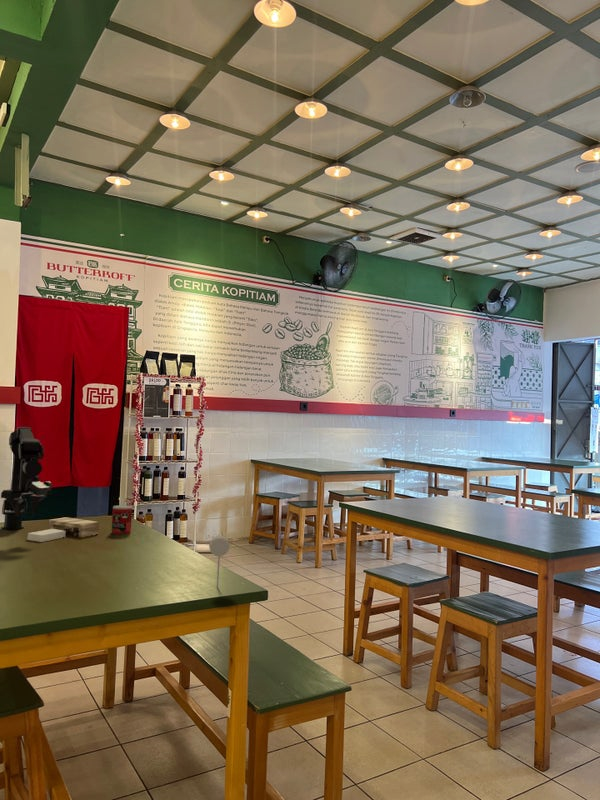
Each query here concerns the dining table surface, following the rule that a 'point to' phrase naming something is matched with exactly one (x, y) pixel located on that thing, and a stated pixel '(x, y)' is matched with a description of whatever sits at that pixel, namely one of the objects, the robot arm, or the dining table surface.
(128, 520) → the canned food
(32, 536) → the flat white block
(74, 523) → the oak shelf
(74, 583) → the dining table surface
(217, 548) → the lollipop
